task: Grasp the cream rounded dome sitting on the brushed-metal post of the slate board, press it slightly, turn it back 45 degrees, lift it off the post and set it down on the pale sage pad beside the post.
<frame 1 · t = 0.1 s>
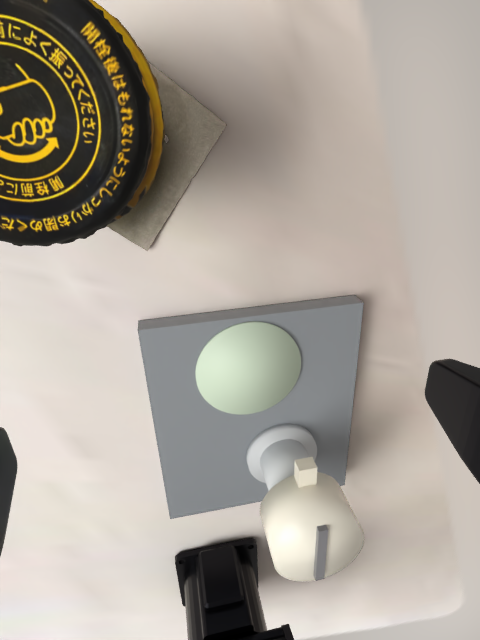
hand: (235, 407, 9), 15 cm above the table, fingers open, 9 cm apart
condiment: (107, 135, 19), on the table
cream rounded dome: (301, 503, 24), point 5 cm above the table, touching post board
post board: (254, 408, 27), on the table
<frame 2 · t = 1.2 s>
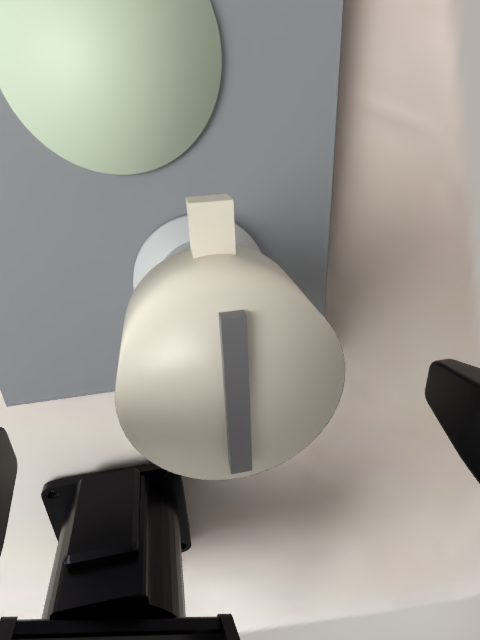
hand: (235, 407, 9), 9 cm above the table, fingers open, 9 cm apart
cream rounded dome: (216, 330, 11), point 5 cm above the table, touching post board
post board: (148, 192, 15), on the table
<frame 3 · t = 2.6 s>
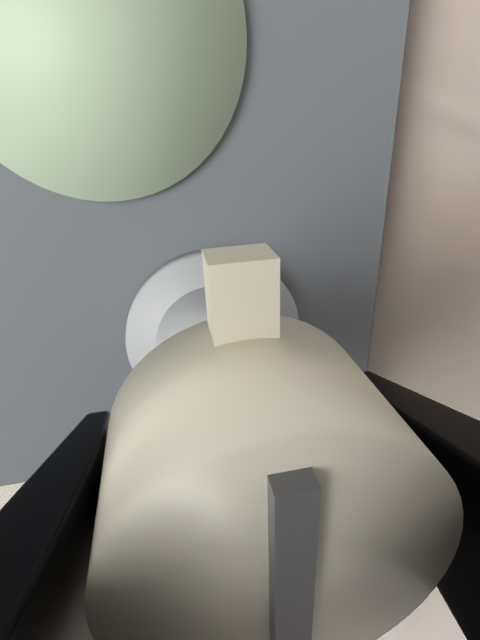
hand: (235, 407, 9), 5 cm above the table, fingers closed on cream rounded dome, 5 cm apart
cream rounded dome: (242, 429, 8), point 5 cm above the table, touching gripper, post board
post board: (145, 220, 11), on the table
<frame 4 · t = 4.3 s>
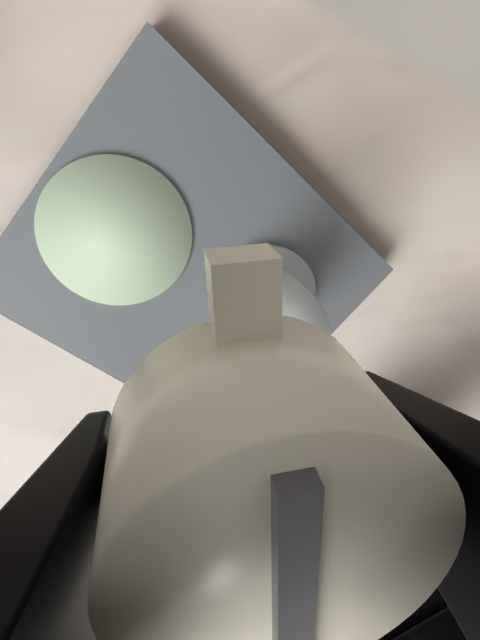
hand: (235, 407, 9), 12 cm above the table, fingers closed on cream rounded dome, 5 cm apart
cream rounded dome: (243, 429, 8), point 13 cm above the table, touching gripper
post board: (194, 272, 20), on the table
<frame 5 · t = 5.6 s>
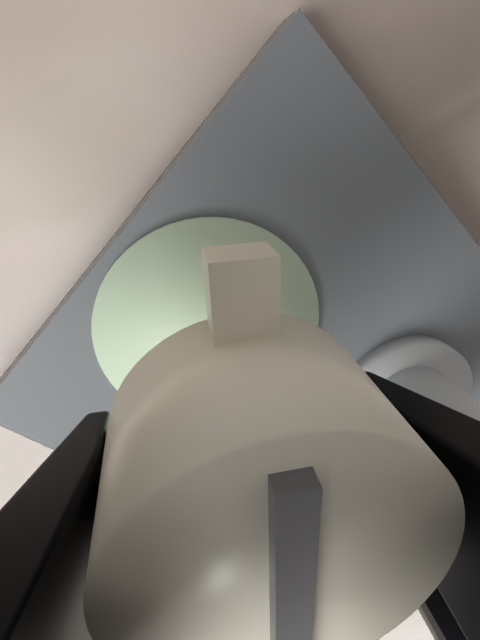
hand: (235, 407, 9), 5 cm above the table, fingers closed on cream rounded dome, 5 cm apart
cream rounded dome: (242, 428, 8), point 5 cm above the table, touching gripper
post board: (300, 364, 14), on the table
when the fingers open (2 cm above the table, at t = 6.4 s): cream rounded dome drops 2 cm, resting on post board.
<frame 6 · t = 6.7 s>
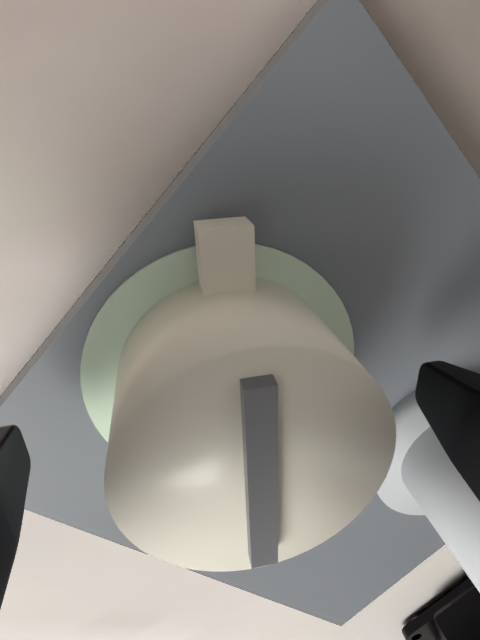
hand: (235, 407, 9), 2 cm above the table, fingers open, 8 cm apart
cream rounded dome: (228, 376, 10), point 1 cm above the table, touching post board
post board: (326, 405, 12), on the table
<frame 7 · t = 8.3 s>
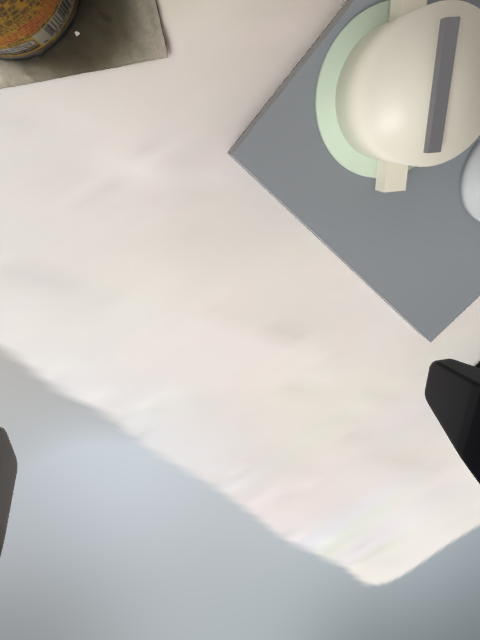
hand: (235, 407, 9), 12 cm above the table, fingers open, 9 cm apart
cream rounded dome: (392, 94, 17), point 1 cm above the table, touching post board
post board: (432, 152, 20), on the table
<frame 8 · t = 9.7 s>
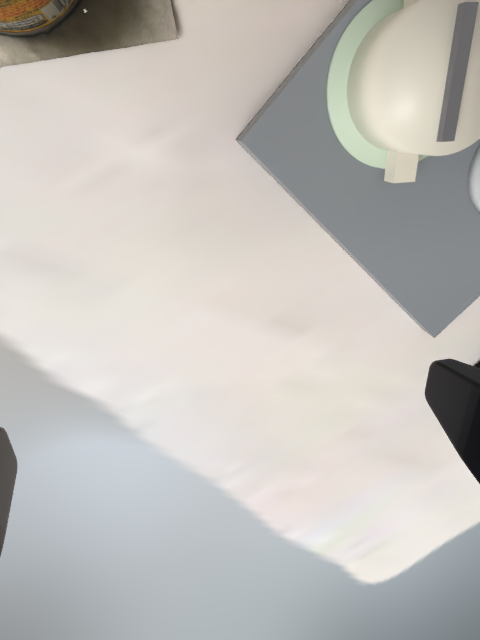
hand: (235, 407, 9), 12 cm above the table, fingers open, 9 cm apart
cream rounded dome: (404, 84, 17), point 1 cm above the table, touching post board
post board: (441, 145, 19), on the table
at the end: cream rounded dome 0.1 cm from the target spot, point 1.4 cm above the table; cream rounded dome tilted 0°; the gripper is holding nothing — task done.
